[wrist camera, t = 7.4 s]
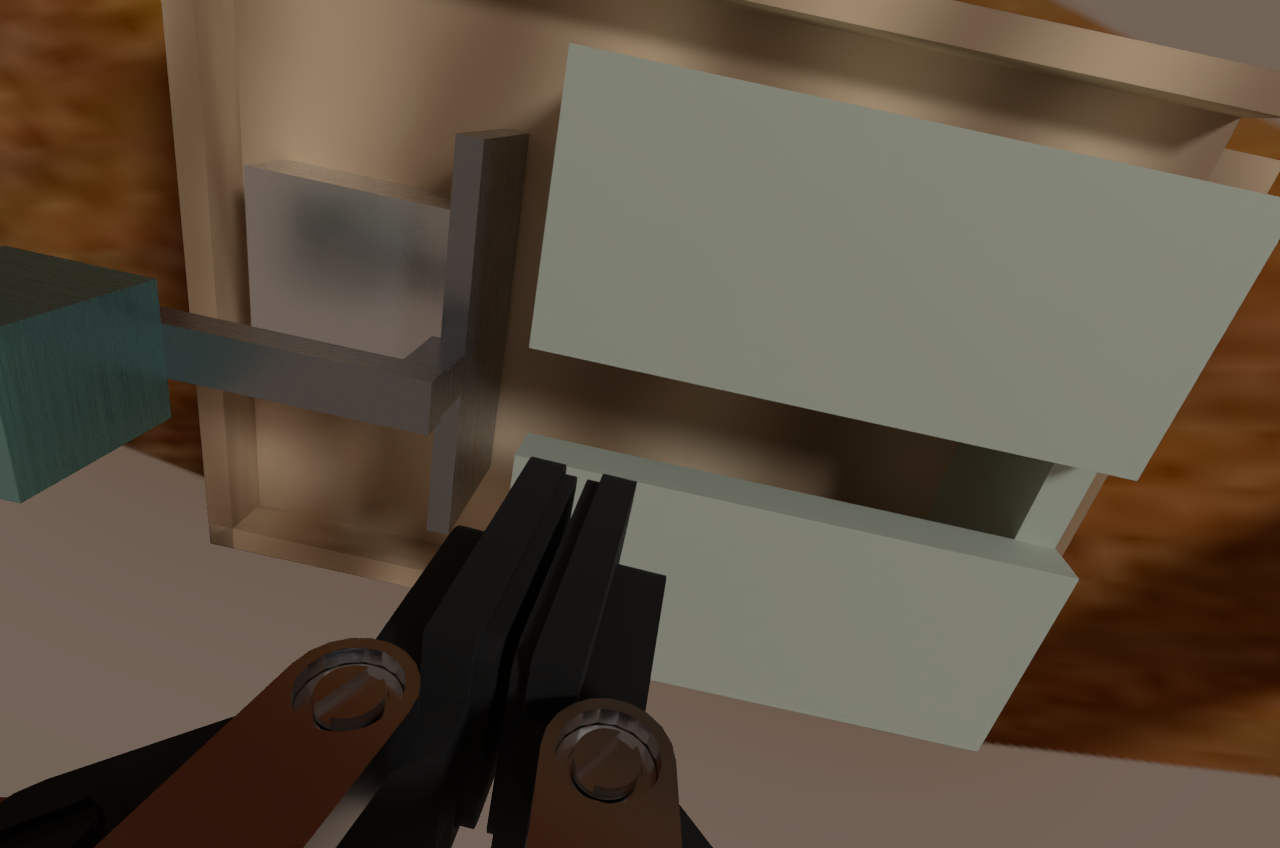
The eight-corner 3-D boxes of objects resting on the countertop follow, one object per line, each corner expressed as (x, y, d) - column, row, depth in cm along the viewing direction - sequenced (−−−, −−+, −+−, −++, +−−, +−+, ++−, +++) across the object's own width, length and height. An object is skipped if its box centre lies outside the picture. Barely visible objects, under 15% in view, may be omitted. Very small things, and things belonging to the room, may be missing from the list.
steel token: (501, 206, 19) (479, 216, 17) (481, 402, 21) (459, 429, 20) (288, 159, 19) (243, 164, 17) (293, 361, 21) (254, 384, 20)
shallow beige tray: (1149, 98, 22) (1380, 92, 15) (931, 564, 30) (1006, 718, 23) (339, -78, 22) (145, -175, 15) (336, 433, 31) (210, 543, 23)
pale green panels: (1123, 173, 17) (1301, 201, 12) (917, 607, 23) (977, 752, 18) (612, 62, 17) (569, 42, 12) (539, 524, 23) (489, 644, 18)
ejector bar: (537, 135, 18) (350, 162, 9) (496, 467, 22) (343, 723, 13) (215, 64, 18) (-312, 17, 9) (237, 410, 22) (-100, 625, 13)
